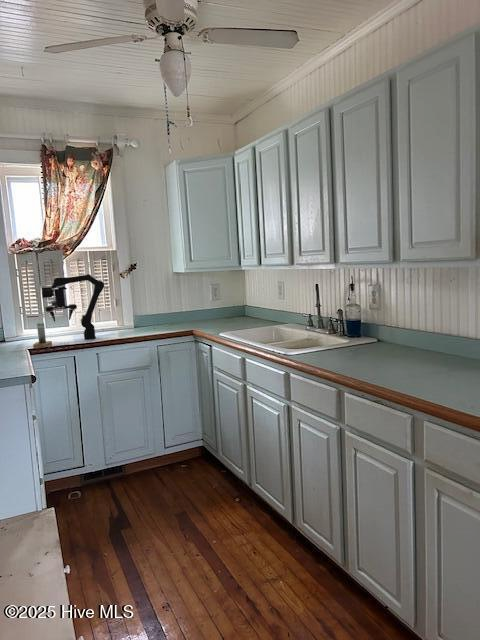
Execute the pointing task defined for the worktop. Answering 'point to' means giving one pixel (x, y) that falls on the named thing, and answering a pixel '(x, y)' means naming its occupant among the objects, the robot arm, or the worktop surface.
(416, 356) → the worktop surface
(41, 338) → the column
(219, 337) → the worktop surface
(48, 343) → the step
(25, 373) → the worktop surface
